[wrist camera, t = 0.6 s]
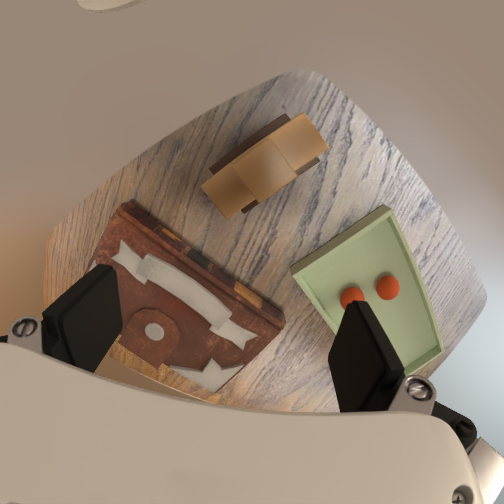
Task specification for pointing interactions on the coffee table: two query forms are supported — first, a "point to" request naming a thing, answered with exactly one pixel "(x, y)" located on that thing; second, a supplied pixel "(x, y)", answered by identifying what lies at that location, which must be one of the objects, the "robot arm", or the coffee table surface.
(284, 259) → the coffee table surface
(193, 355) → the book
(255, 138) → the stand
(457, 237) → the coffee table surface
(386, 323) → the tray
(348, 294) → the orange-red sphere
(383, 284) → the orange ball
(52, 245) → the coffee table surface
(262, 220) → the coffee table surface
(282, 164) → the wooden block
